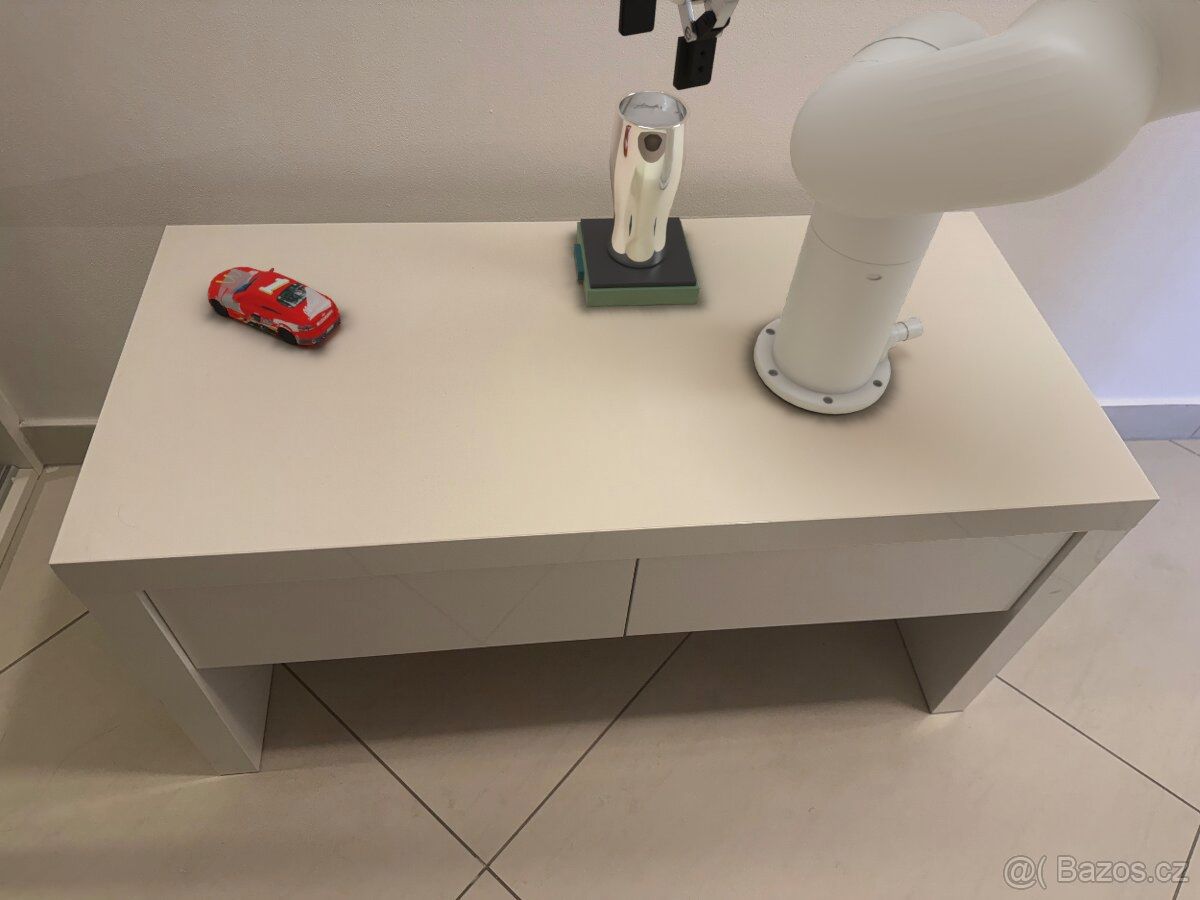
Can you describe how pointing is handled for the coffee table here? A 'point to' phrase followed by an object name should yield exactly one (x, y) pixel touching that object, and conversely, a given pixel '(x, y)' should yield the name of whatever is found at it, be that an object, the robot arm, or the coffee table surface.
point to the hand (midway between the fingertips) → (662, 58)
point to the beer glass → (645, 173)
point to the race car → (274, 304)
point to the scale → (633, 269)
